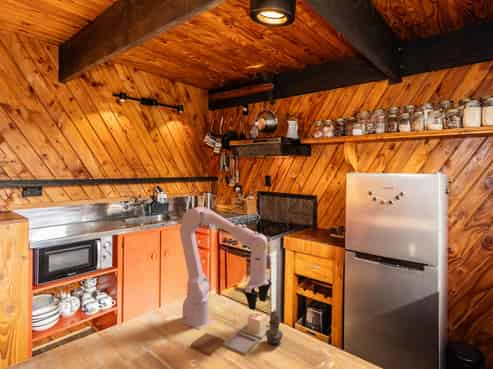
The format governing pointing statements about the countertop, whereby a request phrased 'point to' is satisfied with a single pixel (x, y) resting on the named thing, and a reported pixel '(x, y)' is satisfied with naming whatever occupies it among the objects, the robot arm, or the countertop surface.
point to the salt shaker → (274, 330)
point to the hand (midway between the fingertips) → (257, 305)
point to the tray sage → (244, 330)
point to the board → (207, 343)
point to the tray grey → (241, 342)
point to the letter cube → (256, 322)
